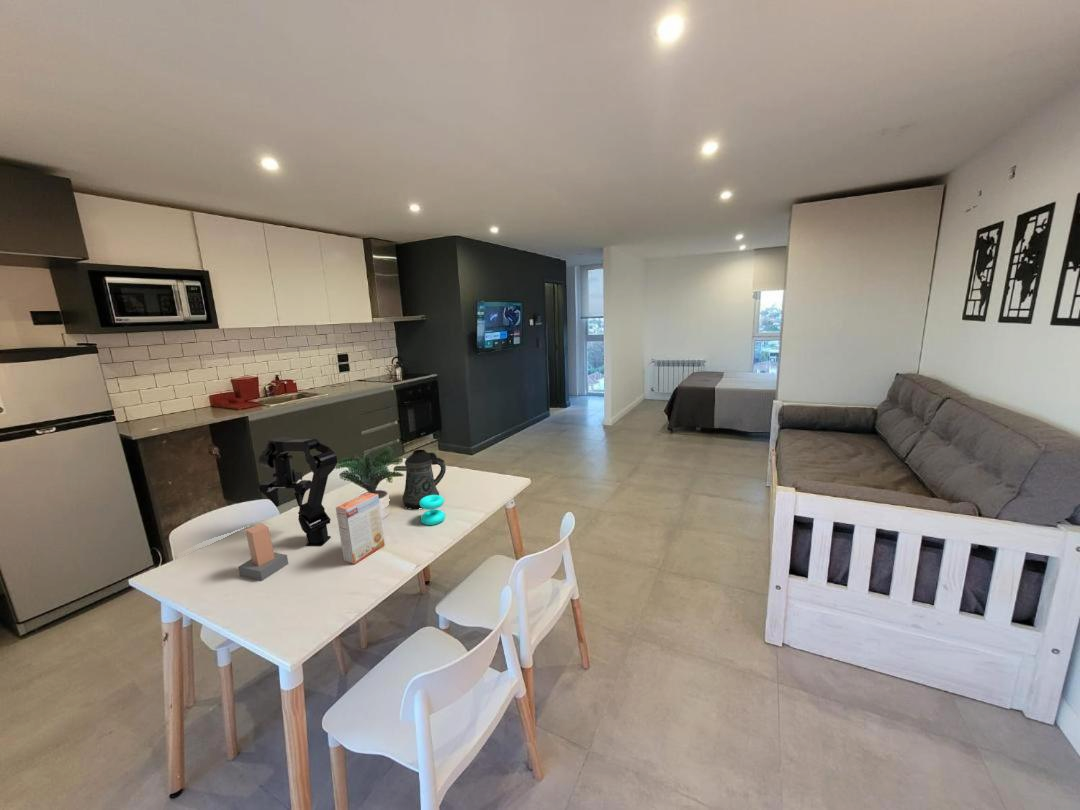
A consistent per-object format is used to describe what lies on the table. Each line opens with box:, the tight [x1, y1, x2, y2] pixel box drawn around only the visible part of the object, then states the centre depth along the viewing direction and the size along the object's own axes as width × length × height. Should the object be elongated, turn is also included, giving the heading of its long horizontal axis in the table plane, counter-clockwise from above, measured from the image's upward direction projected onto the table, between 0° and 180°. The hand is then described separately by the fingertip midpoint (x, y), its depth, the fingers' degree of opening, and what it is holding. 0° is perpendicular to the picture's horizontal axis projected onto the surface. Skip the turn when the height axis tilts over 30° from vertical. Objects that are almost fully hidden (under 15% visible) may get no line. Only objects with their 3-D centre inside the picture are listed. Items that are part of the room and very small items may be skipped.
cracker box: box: [335, 492, 386, 565], centre depth 150 cm, size 14×6×21 cm, turn 153°
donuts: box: [419, 494, 446, 526], centre depth 175 cm, size 10×10×10 cm
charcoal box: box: [237, 552, 289, 582], centre depth 143 cm, size 10×10×4 cm
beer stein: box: [401, 449, 447, 510], centre depth 192 cm, size 16×19×25 cm
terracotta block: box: [245, 523, 275, 566], centre depth 142 cm, size 5×5×12 cm
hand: (289, 506), depth 165 cm, fingers open, 9 cm apart
